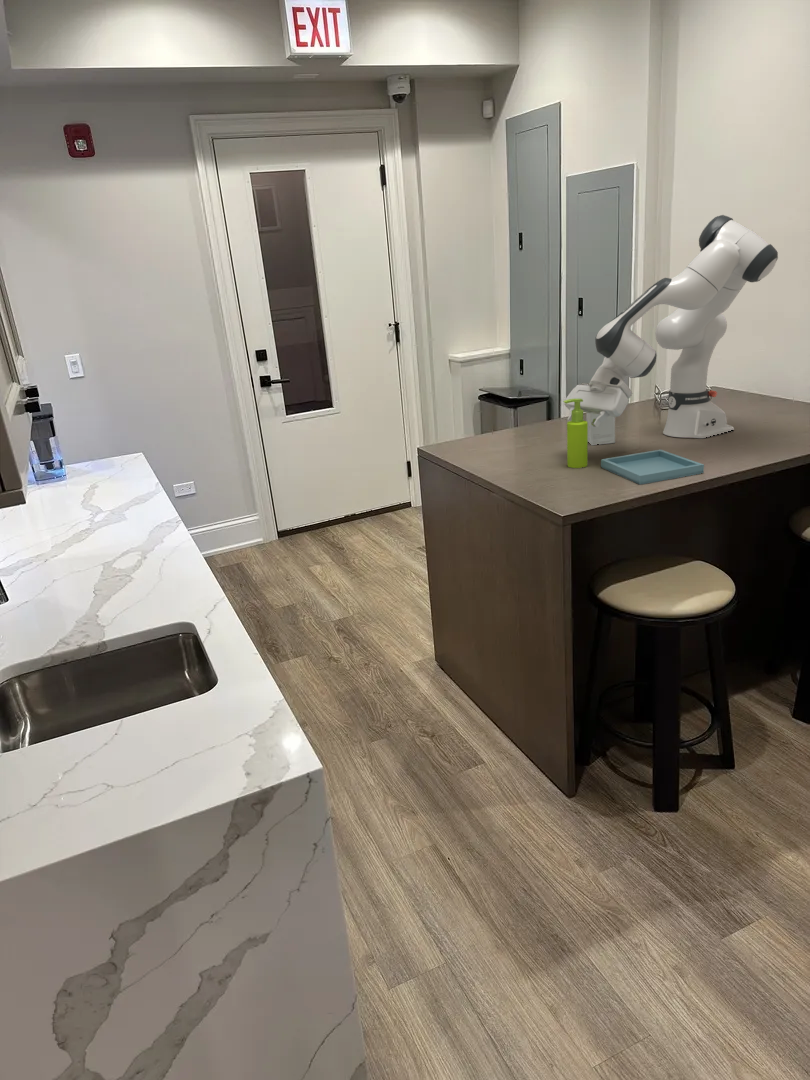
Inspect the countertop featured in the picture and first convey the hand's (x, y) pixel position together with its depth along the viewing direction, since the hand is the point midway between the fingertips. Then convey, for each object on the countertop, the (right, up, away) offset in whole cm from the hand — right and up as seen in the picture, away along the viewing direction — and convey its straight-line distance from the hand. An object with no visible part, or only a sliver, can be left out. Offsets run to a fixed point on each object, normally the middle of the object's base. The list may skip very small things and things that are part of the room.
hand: (582, 423), depth 216 cm
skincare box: (+13, -2, +27) cm, 30 cm away
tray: (+18, -14, -7) cm, 24 cm away
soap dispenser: (-1, -12, +4) cm, 13 cm away
